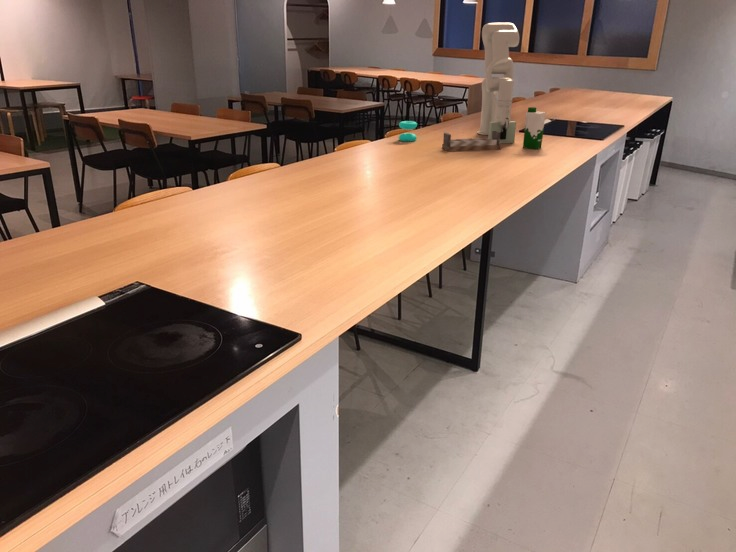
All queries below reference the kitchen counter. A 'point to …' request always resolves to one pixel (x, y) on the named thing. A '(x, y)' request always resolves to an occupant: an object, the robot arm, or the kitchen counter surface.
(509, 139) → the door panel
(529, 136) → the milk carton
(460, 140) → the track base
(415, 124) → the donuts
